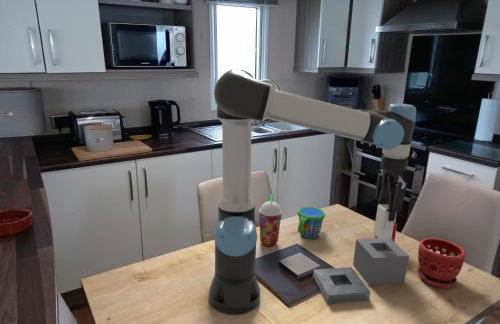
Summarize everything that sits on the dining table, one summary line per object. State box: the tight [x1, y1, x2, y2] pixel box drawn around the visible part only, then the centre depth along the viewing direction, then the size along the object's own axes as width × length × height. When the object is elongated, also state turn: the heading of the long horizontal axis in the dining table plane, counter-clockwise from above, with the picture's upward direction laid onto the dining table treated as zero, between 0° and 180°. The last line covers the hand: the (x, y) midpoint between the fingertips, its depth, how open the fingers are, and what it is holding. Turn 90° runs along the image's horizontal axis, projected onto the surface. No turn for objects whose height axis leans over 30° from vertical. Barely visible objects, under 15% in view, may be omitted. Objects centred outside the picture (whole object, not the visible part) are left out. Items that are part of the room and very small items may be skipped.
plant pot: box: [416, 237, 466, 289], centre depth 117 cm, size 13×13×12 cm
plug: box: [373, 204, 398, 239], centre depth 115 cm, size 5×4×10 cm
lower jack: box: [312, 266, 371, 305], centre depth 111 cm, size 13×13×3 cm
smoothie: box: [258, 194, 283, 248], centre depth 135 cm, size 8×8×20 cm
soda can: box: [374, 219, 398, 243], centre depth 135 cm, size 7×7×12 cm
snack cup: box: [297, 206, 326, 239], centre depth 144 cm, size 16×10×10 cm
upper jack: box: [352, 237, 410, 287], centre depth 119 cm, size 12×12×10 cm
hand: (384, 225), depth 115 cm, fingers closed on plug, 4 cm apart
